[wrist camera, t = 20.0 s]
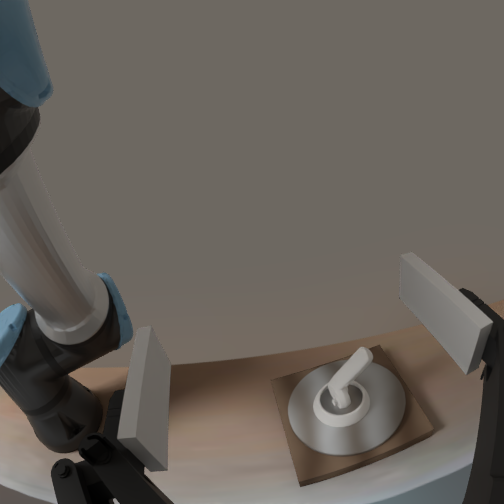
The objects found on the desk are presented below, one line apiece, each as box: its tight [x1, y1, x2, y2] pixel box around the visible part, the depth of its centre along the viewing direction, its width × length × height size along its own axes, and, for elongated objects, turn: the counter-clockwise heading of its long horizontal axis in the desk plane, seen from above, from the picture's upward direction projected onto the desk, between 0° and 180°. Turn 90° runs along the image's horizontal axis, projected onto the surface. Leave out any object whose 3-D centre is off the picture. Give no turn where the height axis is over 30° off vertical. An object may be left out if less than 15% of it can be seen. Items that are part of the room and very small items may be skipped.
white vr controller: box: [313, 347, 373, 427], centre depth 37 cm, size 8×12×7 cm
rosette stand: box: [271, 345, 434, 487], centre depth 39 cm, size 18×18×3 cm
